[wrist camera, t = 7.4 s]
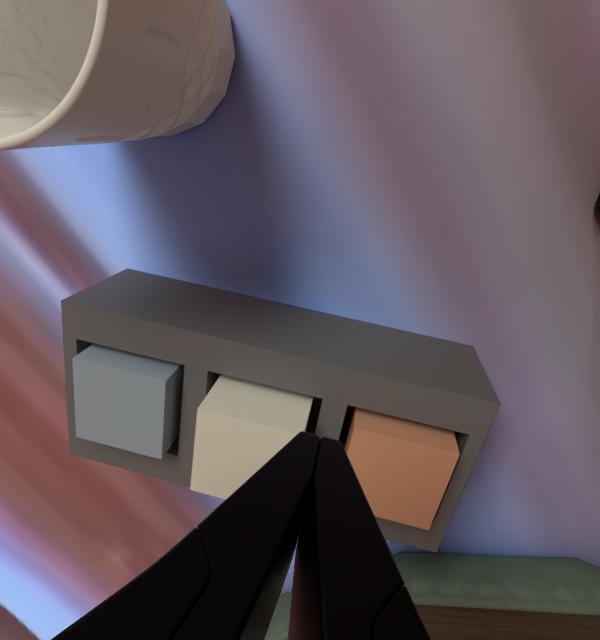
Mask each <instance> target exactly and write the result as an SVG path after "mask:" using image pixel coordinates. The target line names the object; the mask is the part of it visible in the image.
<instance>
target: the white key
mask: <svg viewBox="0 0 600 640" xmlns="http://www.w3.org/2000/svg"><path fill="white" fill-rule="evenodd" d="M312 402H313V396H309V395H305V394H301V393H297V392H292V391H288V390H284V389H280V388H276V387H272V386H268V385H264V384H260V383H255V382H251V381H247V380H243V379H239V378H235V377H231V376H227V375H223V374H221V375H220V377H219V378H218V380H217V381H216V383H215V384H214V386H213V387H212V388H211V390H210V391H209V393H208V394H207V396H206V397H205V399H204V400H203V401H202V403H201V404H200V406H199V407H198V409H197V419H196V430H195V441H194V452H193V464H192V475H191V486H190V490H193V491H196V492H200V493H204V494H207V495H211V496H215V497H218V498H222V499H227V498H228V497H229V496H230V495H231V494H233V493H234V492H235V491H236V490H237V489H238V488H239V487H240V486H241V485H242V484H243V483H245V482H246V481H247V480H248V479H249V478H250V477H251V476H252V475H253V474H254V473H255V472H257V471H258V470H259V469H260V468H261V467H262V466H263V465H264V464H265V463H266V462H267V461H269V460H270V459H271V458H272V457H273V456H274V455H275V454H276V453H277V452H278V451H280V450H281V449H282V448H283V447H284V446H285V445H286V444H287V443H288V442H289V441H290V440H292V439H293V438H294V437H295V436H296V435H297V434H298V433H299V432H301V431H304V432H306V429H307V424H308V420H309V415H310V411H311V406H312Z"/></svg>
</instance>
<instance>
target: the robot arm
mask: <svg viewBox="0 0 600 640" xmlns="http://www.w3.org/2000/svg"><path fill="white" fill-rule="evenodd" d="M595 213H596V214H597V215H598V216H599V217H600V194H599V196H598V199H597V201H596V203H595ZM299 531H300V532H299ZM298 536H299V537H298ZM297 540H298V542H297ZM296 544H297V548H296ZM295 548H296V556H295V565H294V576H293V587H292V598H291V609H290V620H289V631H288V640H431V639H430V636H429V634H428V632H427V630H426V628H425V626H424V624H423V622H422V620H421V618H420V616H419V614H418V611H417V609H416V607H415V605H414V603H413V600H412V598H411V596H410V594H409V591H408V589H407V587H405V586H404V581H403V578H402V576H401V574H400V572H399V569H398V567H397V565H396V563H395V561H394V558H393V556H392V554H391V552H390V549H389V547H388V545H387V543H386V540H385V538H384V536H383V534H382V532H381V529H380V527H379V525H378V523H377V520H376V518H375V516H374V514H373V511H372V509H371V507H370V505H369V503H368V500H367V498H366V496H365V494H364V491H363V489H362V487H361V485H360V482H359V480H358V478H357V476H356V474H355V471H354V469H353V467H352V465H351V462H350V460H349V458H348V456H347V453H346V451H345V449H344V447H343V445H342V443H341V441H339V440H336V439H332V438H328V437H321V439H320V437H319V436H318V435H316V434H312V433H308V432H304V431H301V432H299V433H298V434H297V435H296V436H295V437H294V438H293V439H292V440H290V441H289V442H288V443H287V444H286V445H285V446H284V447H283V448H282V449H281V450H280V451H278V452H277V453H276V454H275V455H274V456H273V457H272V458H271V459H270V460H269V461H267V462H266V463H265V464H264V465H263V466H262V467H261V468H260V469H259V470H258V471H257V472H255V473H254V474H253V475H252V476H251V477H250V478H249V479H248V480H247V481H246V482H245V483H243V484H242V485H241V486H240V487H239V488H238V489H237V490H236V491H235V492H234V493H233V494H231V495H230V496H229V497H228V498H227V499H226V500H225V501H224V502H223V503H222V504H221V505H219V506H218V507H217V508H216V509H215V510H214V511H213V512H212V513H211V514H210V515H209V516H207V517H206V518H205V519H204V520H203V521H202V522H201V523H200V524H199V525H198V526H197V528H194V529H193V530H192V531H191V532H190V533H189V534H188V535H186V536H185V537H184V538H183V539H182V540H181V541H180V542H179V543H178V544H177V545H175V546H174V547H173V548H172V549H171V550H170V551H168V552H167V553H166V554H165V555H164V556H163V557H161V558H160V559H159V560H158V561H157V562H156V563H154V564H153V565H152V566H150V567H149V568H148V569H146V570H145V571H144V572H143V573H141V574H140V575H139V576H137V577H136V578H135V579H133V580H132V581H131V582H129V583H128V584H127V585H125V586H124V587H123V588H121V589H120V590H119V591H117V592H116V593H114V594H113V595H112V596H110V597H109V598H108V599H106V600H105V601H103V602H102V603H101V604H99V605H98V606H97V607H95V608H94V609H92V610H91V611H90V612H88V613H87V614H86V615H84V616H83V617H81V618H80V619H79V620H77V621H76V622H74V623H73V624H72V625H70V626H69V627H68V628H66V629H65V630H63V631H62V632H61V633H59V634H58V635H57V636H55V637H54V638H52V639H51V640H264V639H265V636H266V633H267V630H268V628H269V625H270V622H271V619H272V616H273V613H274V610H275V607H276V604H277V601H278V599H279V596H280V593H281V590H282V587H283V584H284V581H285V578H286V575H287V572H288V570H289V567H290V564H291V561H292V558H293V554H294V551H295Z"/></svg>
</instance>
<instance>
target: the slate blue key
mask: <svg viewBox="0 0 600 640" xmlns="http://www.w3.org/2000/svg"><path fill="white" fill-rule="evenodd" d="M72 362H73V382H74V403H75V423H76V437H78V438H82V439H86V440H90V441H94V442H97V443H101V444H105V445H109V446H112V447H116V448H120V449H124V450H127V451H131V452H135V453H139V454H142V455H146V456H150V457H154V458H158V459H161V460H162V458H163V457H164V455H165V454H166V452H167V451H168V450H169V448H170V447H171V445H172V444H173V442H174V441H175V439H176V438H177V437H178V435H179V434H180V422H181V409H182V395H183V381H184V367H185V365H182V364H177V363H173V362H169V361H165V360H161V359H157V358H153V357H149V356H145V355H140V354H136V353H132V352H128V351H124V350H120V349H116V348H112V347H108V346H104V345H99V344H95V343H94V344H92V345H91V346H90V347H88V348H87V349H85V350H84V351H82V352H81V353H79V354H78V355H76V356H75V357H74V358H72Z"/></svg>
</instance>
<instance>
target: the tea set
mask: <svg viewBox="0 0 600 640" xmlns="http://www.w3.org/2000/svg"><path fill="white" fill-rule="evenodd" d="M393 558H394V561H395V563H396V565H397V567H398V569H399V572H400V574H401V576H402V578H403V581H404V586H405V587H407V589H408V591H409V594H410V596H411V598H412V600H413V603H414V605H415V607H416V609H417V611H418V614H419V616H420V618H421V620H422V622H423V624H424V626H425V628H426V630H427V632H428V634H429V636H430V639H431V640H600V568H599V567H596V566H593V565H591V564H588V563H586V562H583V561H581V560H578V559H573V558H545V557H517V556H489V555H461V554H433V553H405V552H402V553H400V554H397V555H394V556H393ZM291 598H292V592H289V593H286V594H283V595H281V596H280V597H279V599H278V601H277V604H276V607H275V610H274V613H273V616H272V619H271V622H270V625H269V628H268V630H267V633H266V636H265V639H264V640H288V631H289V620H290V609H291Z"/></svg>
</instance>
